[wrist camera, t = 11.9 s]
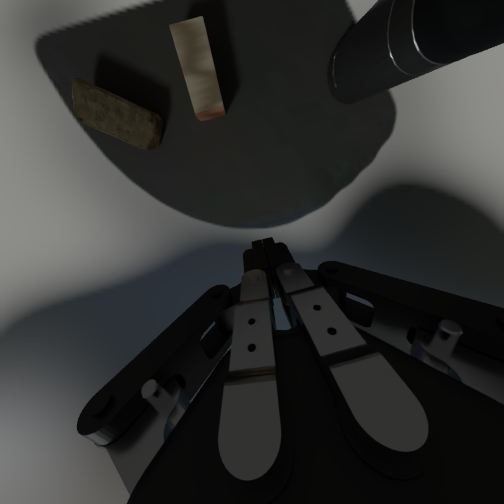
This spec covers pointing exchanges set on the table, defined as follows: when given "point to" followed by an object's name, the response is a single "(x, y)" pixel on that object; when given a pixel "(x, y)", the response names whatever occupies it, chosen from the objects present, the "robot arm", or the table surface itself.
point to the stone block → (116, 115)
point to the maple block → (198, 67)
